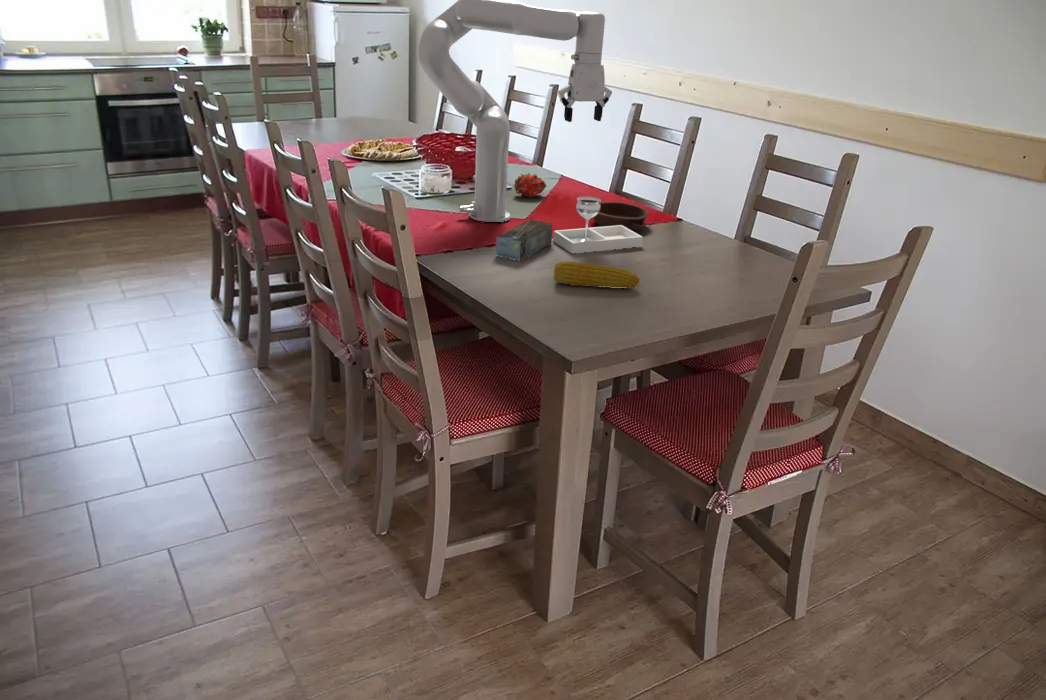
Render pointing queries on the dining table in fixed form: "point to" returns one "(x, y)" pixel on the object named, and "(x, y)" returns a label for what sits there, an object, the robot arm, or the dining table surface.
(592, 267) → the food
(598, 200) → the wineglass
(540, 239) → the beverage carton
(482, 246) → the dining table surface
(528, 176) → the dragon fruit
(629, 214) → the dish
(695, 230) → the dining table surface
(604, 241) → the white divided tray
